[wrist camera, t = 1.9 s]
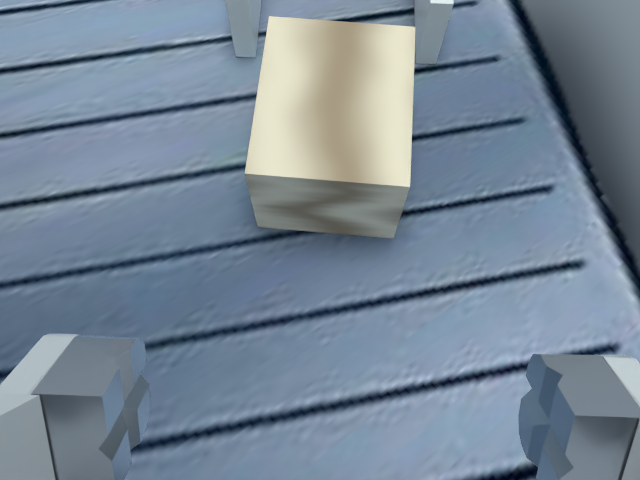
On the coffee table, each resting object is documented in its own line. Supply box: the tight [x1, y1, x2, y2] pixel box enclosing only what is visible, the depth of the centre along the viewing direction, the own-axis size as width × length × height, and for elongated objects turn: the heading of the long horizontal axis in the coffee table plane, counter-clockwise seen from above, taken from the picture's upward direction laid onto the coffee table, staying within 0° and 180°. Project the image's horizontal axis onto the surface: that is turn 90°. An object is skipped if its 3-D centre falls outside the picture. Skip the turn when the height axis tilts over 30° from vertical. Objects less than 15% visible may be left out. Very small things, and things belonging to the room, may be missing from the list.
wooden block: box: [245, 16, 416, 238], centre depth 37 cm, size 9×11×8 cm
